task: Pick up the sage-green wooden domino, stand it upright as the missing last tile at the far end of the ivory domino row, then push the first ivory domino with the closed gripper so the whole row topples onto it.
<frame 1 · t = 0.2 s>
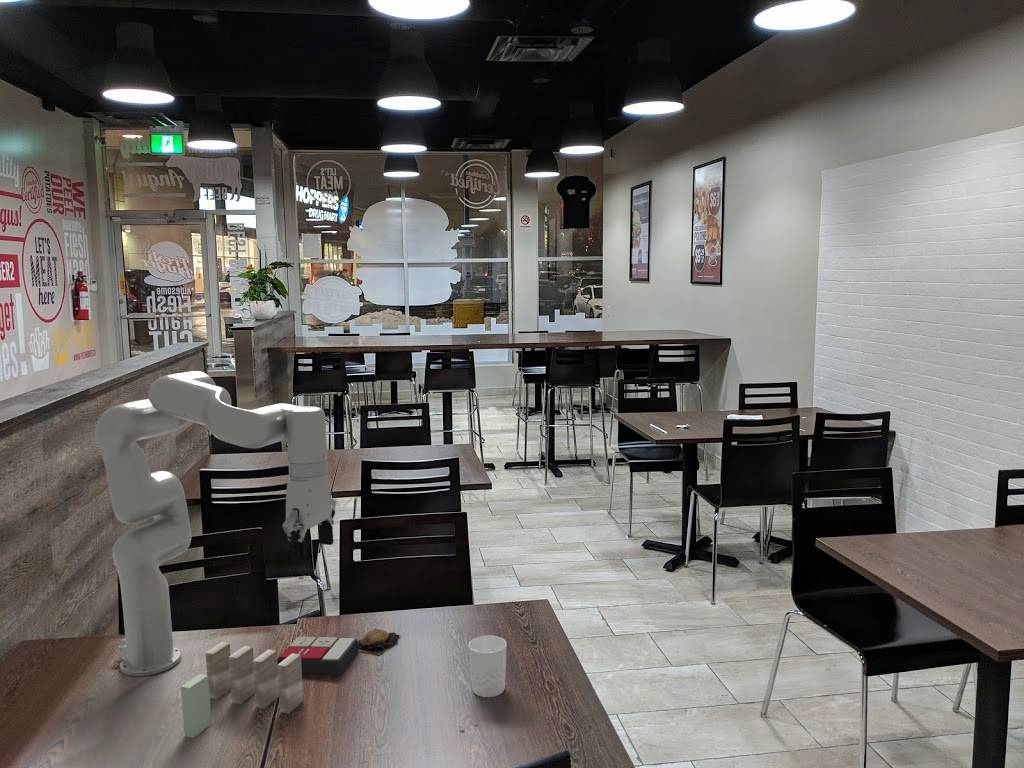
hand: (312, 551, 157), 31 cm above the table, tool pointing down, fingers open, 9 cm apart
domino 2: (244, 697, 160), on the table
domino 3: (267, 702, 159), on the table
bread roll: (377, 646, 184), on the table
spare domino: (198, 729, 149), on the table
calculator: (318, 664, 175), on the table
domino 1: (220, 693, 162), on the table
white cup: (488, 690, 162), on the table
domino 4: (291, 706, 157), on the table
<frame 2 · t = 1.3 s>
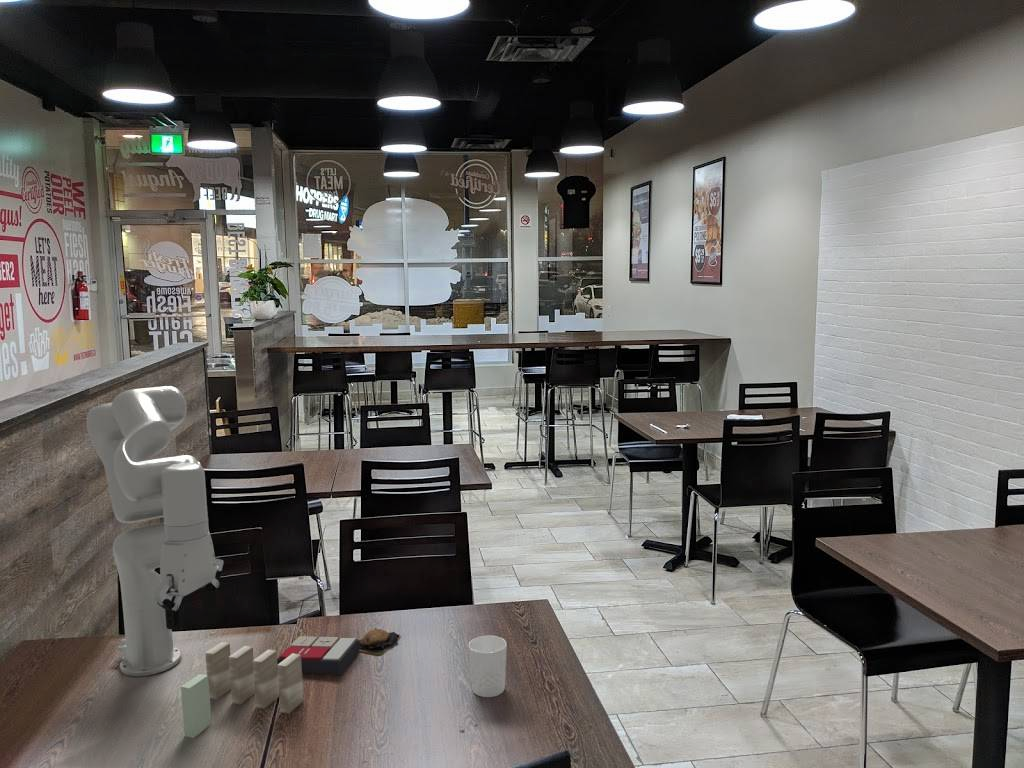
hand: (193, 618, 146), 22 cm above the table, tool pointing down, fingers open, 9 cm apart
nothing on the table moved.
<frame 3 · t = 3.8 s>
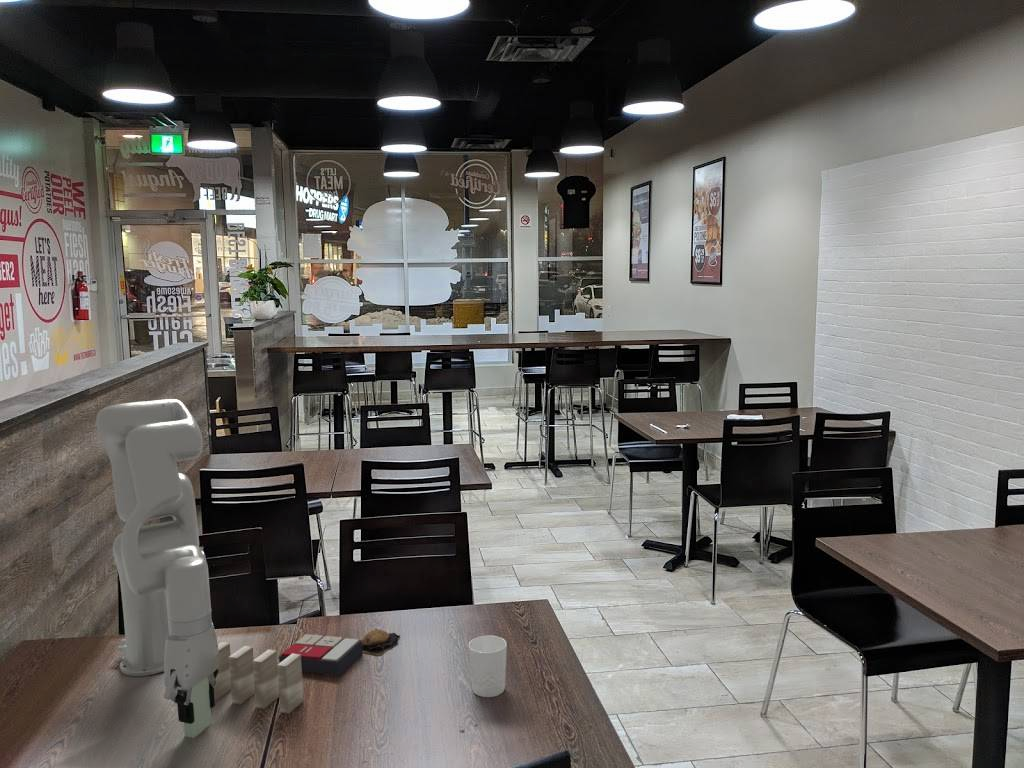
hand: (197, 713, 148), 3 cm above the table, tool pointing down, fingers closed on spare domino, 4 cm apart
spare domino: (198, 729, 149), on the table, touching gripper
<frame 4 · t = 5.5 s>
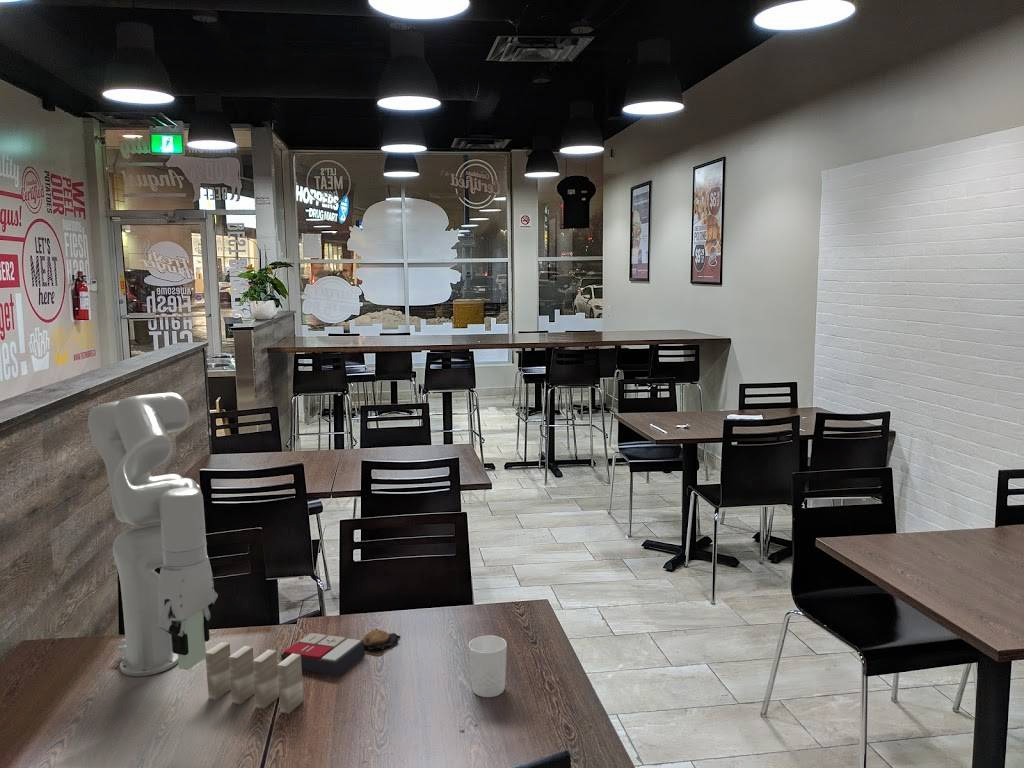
hand: (191, 645, 147), 17 cm above the table, tool pointing down, fingers closed on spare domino, 4 cm apart
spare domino: (192, 662, 148), point 13 cm above the table, touching gripper
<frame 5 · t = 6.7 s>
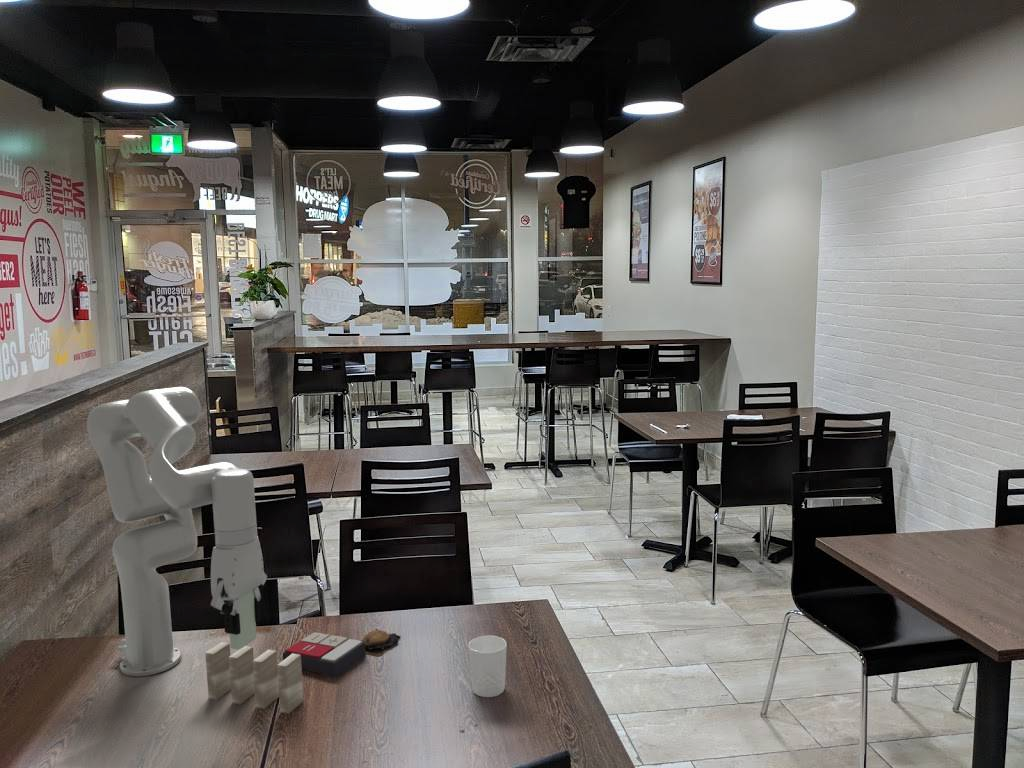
hand: (242, 626, 149), 20 cm above the table, tool pointing down, fingers closed on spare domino, 4 cm apart
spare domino: (243, 643, 149), point 16 cm above the table, touching gripper
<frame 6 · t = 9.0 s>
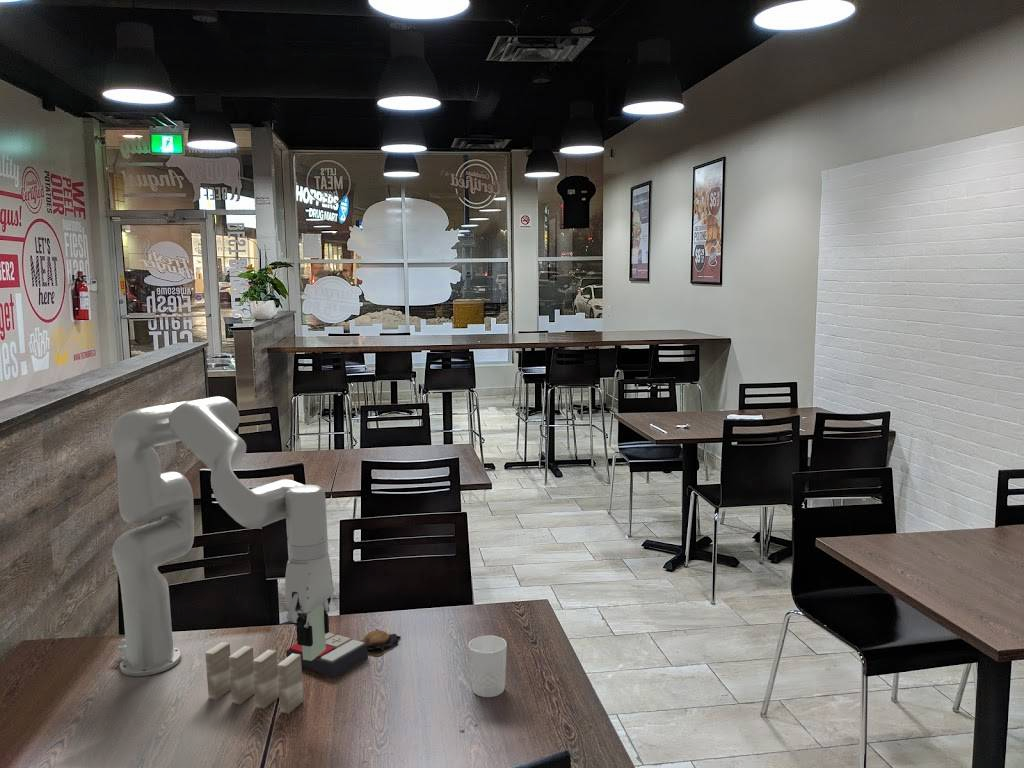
hand: (313, 637, 153), 15 cm above the table, tool pointing down, fingers closed on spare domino, 4 cm apart
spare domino: (314, 654, 153), point 12 cm above the table, touching gripper
when the fingers open (4 cm above the table, at t = 11.8 s): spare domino stays where it is, on the table.
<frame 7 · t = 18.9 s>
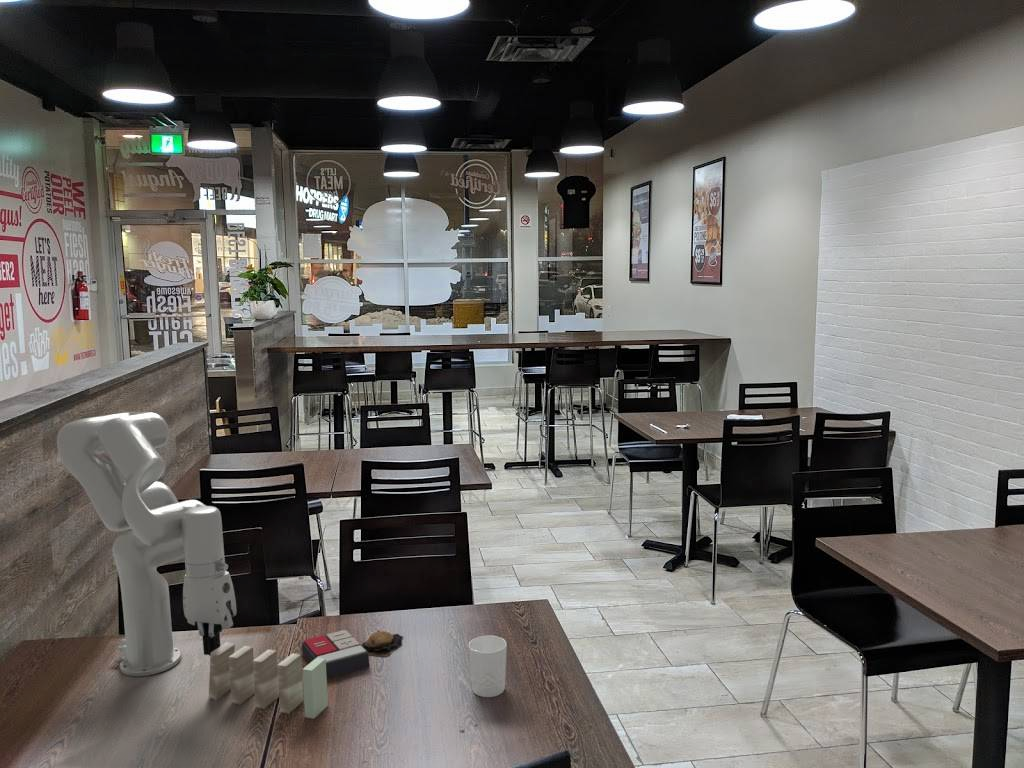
hand: (212, 652, 161), 9 cm above the table, tool pointing down, fingers closed
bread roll: (382, 648, 183), on the table
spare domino: (316, 711, 155), on the table
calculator: (335, 662, 176), on the table
domino 1: (220, 692, 162), on the table, tilted 7°, touching gripper
everything else where it was.
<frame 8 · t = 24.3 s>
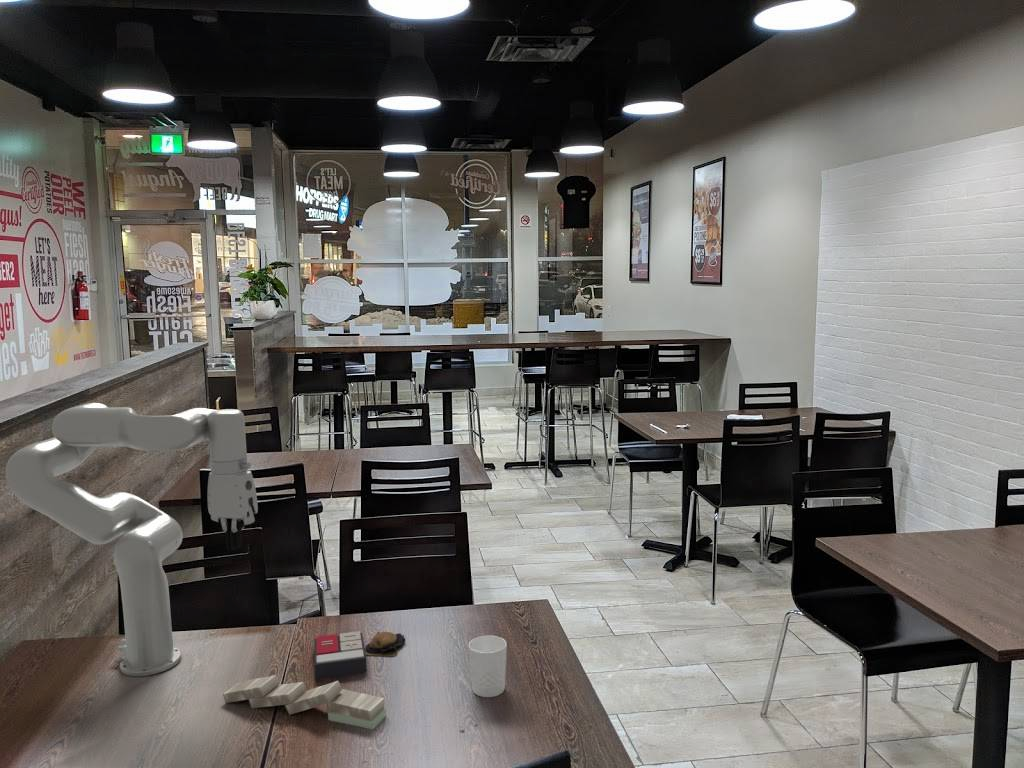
hand: (234, 547, 171), 27 cm above the table, tool pointing down, fingers closed
domino 2: (257, 697, 159), point 1 cm above the table, tilted 75°, touching domino 1, domino 3
domino 3: (294, 703, 156), point 1 cm above the table, tilted 66°, touching domino 2
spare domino: (335, 711, 154), on the table, tilted 90°, touching domino 4
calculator: (340, 662, 176), on the table
domino 1: (232, 692, 161), point 1 cm above the table, tilted 72°, touching domino 2
domino 4: (334, 699, 154), point 2 cm above the table, tilted 90°, touching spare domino
at the end: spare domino tilted 90°; domino 4 tilted 90°; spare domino inside the target area (0.9 cm from its centre), on the table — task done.
